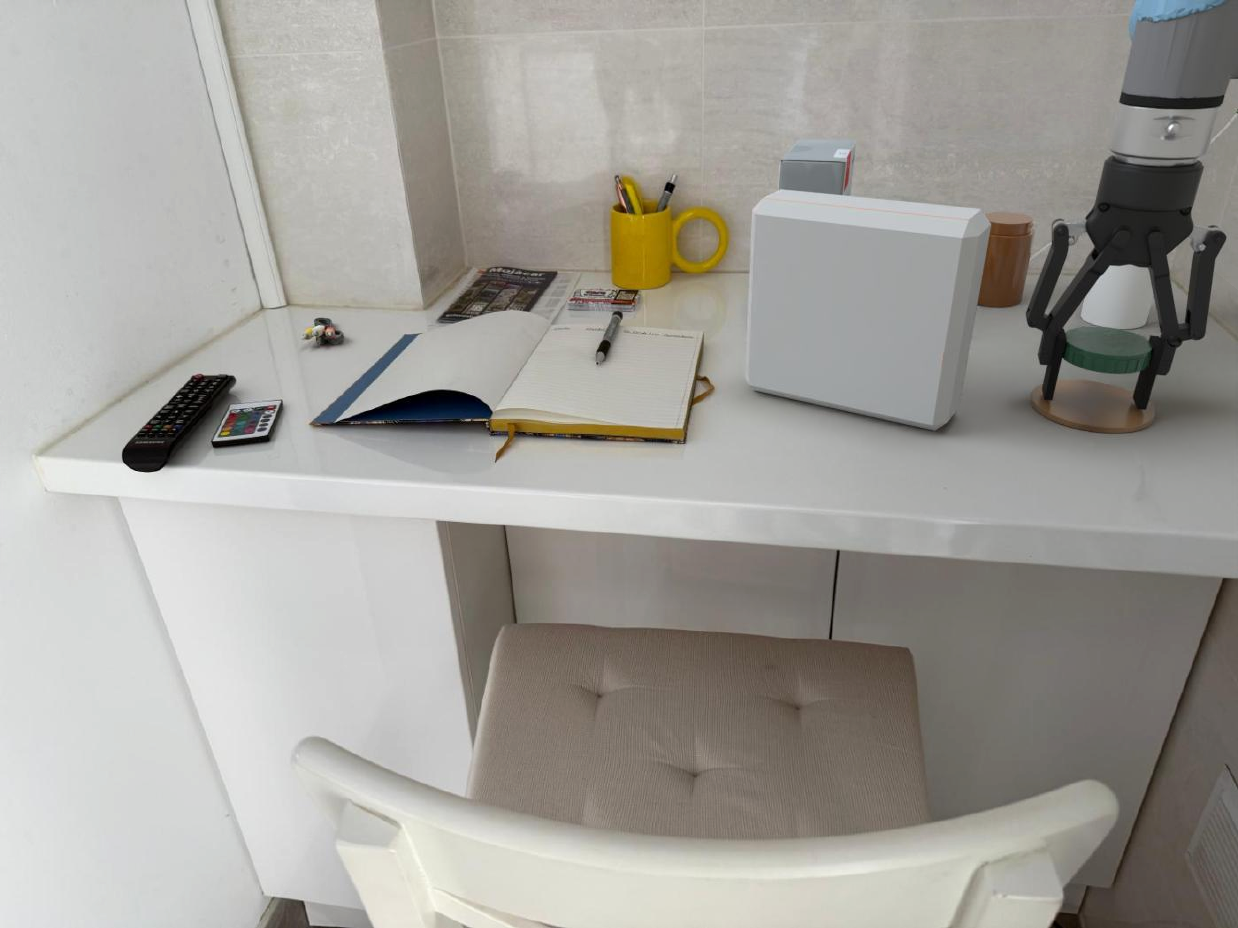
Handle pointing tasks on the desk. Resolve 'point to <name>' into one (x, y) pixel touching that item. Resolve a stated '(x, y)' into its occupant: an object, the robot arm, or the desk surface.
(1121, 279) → the cylindrical container
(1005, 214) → the brown lidded jar
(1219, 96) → the robot arm
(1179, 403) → the desk surface
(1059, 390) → the coaster
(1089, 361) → the jar lid
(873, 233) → the bevelled white case
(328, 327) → the composite cable
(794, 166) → the hard drive box
